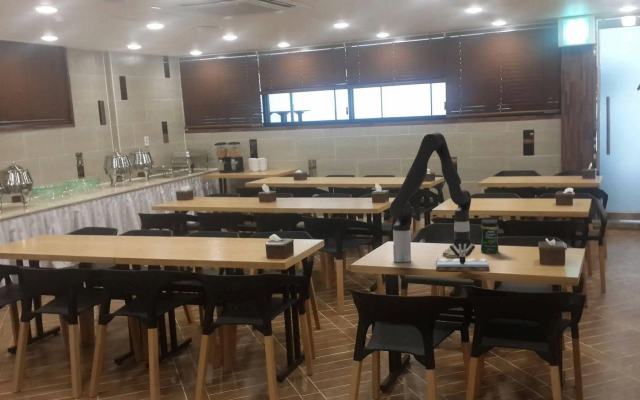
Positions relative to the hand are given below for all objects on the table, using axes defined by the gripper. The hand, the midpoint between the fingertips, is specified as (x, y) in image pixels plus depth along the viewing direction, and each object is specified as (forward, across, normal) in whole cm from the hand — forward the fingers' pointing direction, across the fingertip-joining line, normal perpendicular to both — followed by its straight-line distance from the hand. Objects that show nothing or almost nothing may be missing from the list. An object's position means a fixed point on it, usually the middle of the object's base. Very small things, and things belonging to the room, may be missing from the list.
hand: (462, 263), depth 310 cm
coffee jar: (+3, +17, +42) cm, 45 cm away
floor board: (+3, 0, +6) cm, 7 cm away
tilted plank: (+1, 0, +3) cm, 3 cm away
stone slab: (+4, -1, +40) cm, 40 cm away
